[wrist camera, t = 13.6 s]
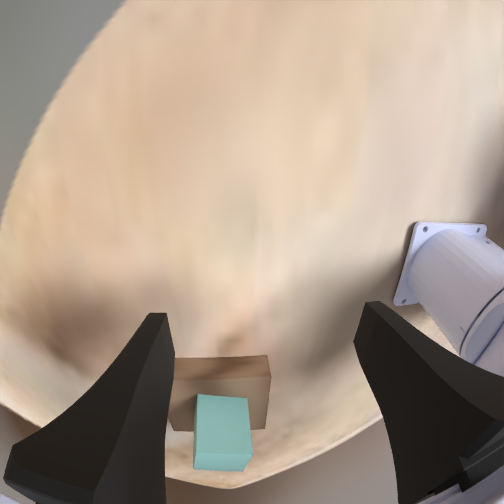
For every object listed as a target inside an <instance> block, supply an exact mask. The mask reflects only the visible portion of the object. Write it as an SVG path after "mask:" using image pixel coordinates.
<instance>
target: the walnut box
mask: <svg viewBox="0 0 504 504" xmlns="http://www.w3.org/2000/svg"><path fill="white" fill-rule="evenodd" d="M270 382H271V373H270V368H269V362H268V357H267V355H261V356H244V357H217V358H175V363H174V380H173V386H172V392H171V399H170V405H169V411H168V418H169V420H170V423H171V425H172V428H173V430H174V431H194V416H195V409H196V402H197V396H198V394H203V395H213V396H225V397H240V398H247V401H248V411H249V420H250V430H256V429H265V425H266V416H267V408H268V400H269V391H270Z"/></svg>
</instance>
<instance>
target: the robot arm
mask: <svg viewBox="0 0 504 504" xmlns="http://www.w3.org/2000/svg"><path fill="white" fill-rule="evenodd" d="M424 227H425V229H424V230H423V228H424ZM486 232H487V226H486V225H484V224H473V223H448V222H417V223H416V224H415V226H414V229H413V233H412V237H411V241H410V245H409V249H408V253H407V257H406V260H405V264H404V267H403V271H402V274H401V277H400V281H399V284H398V287H397V290H396V293H395V297H394V300H393V303H394V305H395V306H403V305H410V304H417V303H420V304H421V305H422V307H423V308H424V309H425V310H426V312H427V313H428V314H429V316H430V317H431V318H432V319H433V321H434V322H435V323H436V325H437V326H438V327H439V329H440V330H441V331H442V333H443V334H444V335H445V337H446V338H447V339H448V341H449V342H450V343H451V345H452V346H453V348H454V349H455V350H456V352H457V353H458V355H459V356H460V357H458V356H457V355H455V354H453V353H451V352H450V351H448V350H447V349H445V348H443V347H442V346H440V345H439V344H438V343H436V342H435V341H433V340H432V339H430V338H429V337H427V336H426V335H425V334H423V333H422V332H421V331H419V330H418V329H416V328H415V327H414V326H412V325H411V324H410V323H409V322H407V321H406V320H405V319H403V318H402V317H401V316H399V315H398V314H397V313H395V312H394V311H393V310H391V309H390V308H389V307H387V306H386V305H384V304H383V303H381V302H380V301H375V302H365V306H364V309H363V312H362V316H361V319H360V322H359V326H358V329H357V332H356V335H355V338H354V341H353V342H354V345H355V349H356V352H357V356H358V359H359V362H360V365H361V367H362V369H363V372H364V374H365V376H366V378H367V381H368V383H369V385H370V387H371V389H372V392H373V394H374V396H375V398H376V401H377V403H378V405H379V407H380V410H381V413H382V415H383V418H384V422H385V425H386V429H387V432H388V436H389V440H390V445H391V449H392V453H393V459H394V465H395V471H396V479H397V490H398V503H399V504H418V503H419V504H504V250H503V249H502V248H500V247H499V246H498V245H496V244H495V243H494V242H492V241H491V240H490V239H488V238H487V237H486V236H485V235H486ZM402 300H403V301H402ZM174 363H175V351H174V347H173V342H172V337H171V333H170V328H169V323H168V318H167V313H149V314H148V315H147V317H146V318H145V319H144V321H143V322H142V324H141V325H140V327H139V328H138V330H137V331H136V332H135V334H134V335H133V337H132V338H131V339H130V341H129V342H128V343H127V345H126V346H125V347H124V349H123V350H122V351H121V353H120V354H119V355H118V357H117V358H116V359H115V360H114V362H113V363H112V364H111V365H110V366H109V368H108V369H107V370H106V371H105V372H104V374H103V375H102V376H101V377H100V378H99V379H98V380H97V381H96V382H95V384H94V385H93V386H92V387H91V388H90V389H89V390H88V391H87V392H86V393H85V394H84V395H83V396H82V397H80V398H79V399H78V400H77V401H76V402H75V403H74V404H73V405H72V406H70V407H69V408H68V409H67V410H66V411H65V412H63V413H62V414H61V415H60V416H58V417H57V418H56V419H54V420H53V421H51V422H50V423H49V424H47V425H46V426H45V427H43V428H42V429H40V430H39V431H37V432H35V433H34V434H32V435H30V436H29V437H27V438H25V439H24V440H22V441H20V442H18V443H16V444H14V445H13V446H12V449H11V452H10V456H9V459H8V462H7V466H6V469H5V474H4V477H3V479H4V481H5V483H6V484H7V485H9V486H10V487H11V488H13V489H14V490H16V491H18V492H19V493H21V494H23V495H24V496H26V497H27V498H29V499H31V500H33V501H34V502H36V504H166V492H165V491H166V490H165V433H166V425H167V418H168V411H169V405H170V399H171V392H172V386H173V380H174ZM434 495H435V496H434ZM432 496H433V497H432ZM430 497H431V498H430ZM428 498H429V499H428ZM426 499H427V500H426ZM424 500H425V501H424ZM422 501H423V502H422ZM420 502H421V503H420ZM0 504H24V503H22V502H19V501H17V500H15V499H13V498H11V497H9V496H7V495H5V494H3V493H1V494H0Z"/></svg>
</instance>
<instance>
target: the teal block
mask: <svg viewBox="0 0 504 504" xmlns="http://www.w3.org/2000/svg"><path fill="white" fill-rule="evenodd" d="M252 456H253V449H252V439H251V430H250V420H249V411H248V401H247V398H240V397H225V396H213V395H203V394H198V396H197V402H196V409H195V416H194V447H193V469H198V470H213V471H243V470H244V468H245V467H246V465H247V464H248V462H249V461H250V459H251V457H252Z"/></svg>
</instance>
